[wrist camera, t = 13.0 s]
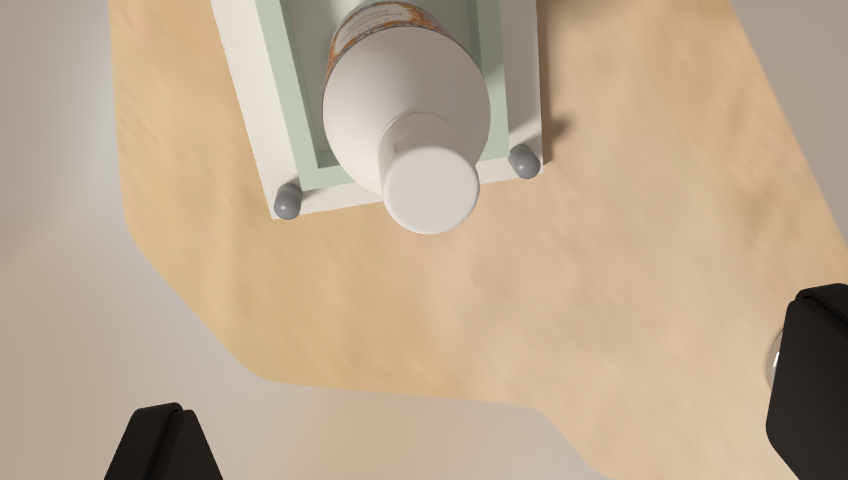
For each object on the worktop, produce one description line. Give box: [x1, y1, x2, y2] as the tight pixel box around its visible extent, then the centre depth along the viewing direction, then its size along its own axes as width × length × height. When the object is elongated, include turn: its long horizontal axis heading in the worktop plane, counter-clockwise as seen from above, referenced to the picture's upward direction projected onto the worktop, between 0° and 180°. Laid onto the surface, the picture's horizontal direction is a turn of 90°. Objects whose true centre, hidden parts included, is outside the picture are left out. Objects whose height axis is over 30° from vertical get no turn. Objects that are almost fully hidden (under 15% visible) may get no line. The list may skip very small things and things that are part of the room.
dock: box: [210, 0, 543, 220], centre depth 34 cm, size 18×18×4 cm
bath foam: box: [322, 0, 491, 234], centre depth 26 cm, size 7×7×20 cm
